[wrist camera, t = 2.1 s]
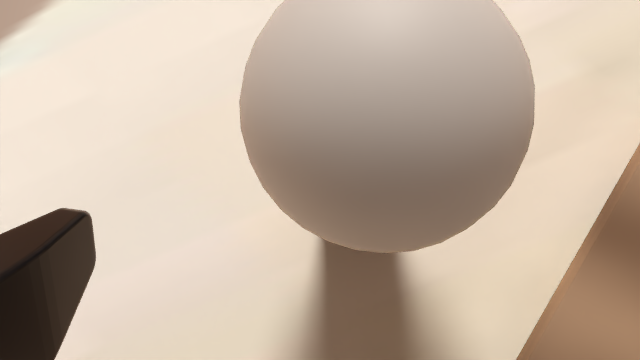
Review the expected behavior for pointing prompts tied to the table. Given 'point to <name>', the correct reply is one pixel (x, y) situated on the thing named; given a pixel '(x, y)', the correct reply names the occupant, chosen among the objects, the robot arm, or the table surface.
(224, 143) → the table surface
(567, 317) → the socket board
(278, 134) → the lightbulb
